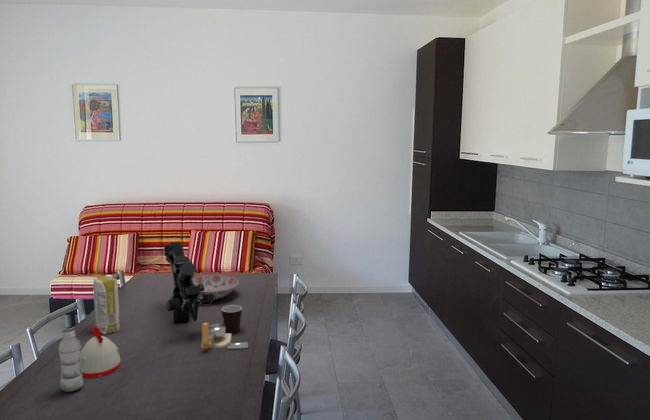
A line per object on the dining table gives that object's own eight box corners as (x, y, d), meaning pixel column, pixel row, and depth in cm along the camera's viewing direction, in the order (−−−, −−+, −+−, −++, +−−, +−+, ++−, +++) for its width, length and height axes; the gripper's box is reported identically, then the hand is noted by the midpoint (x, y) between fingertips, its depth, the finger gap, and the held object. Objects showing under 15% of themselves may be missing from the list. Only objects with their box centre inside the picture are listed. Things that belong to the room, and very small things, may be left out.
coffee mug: (237, 336, 195) (237, 313, 194) (218, 334, 197) (218, 311, 195) (247, 325, 206) (247, 303, 205) (229, 323, 208) (229, 302, 207)
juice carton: (122, 331, 198) (119, 276, 195) (102, 336, 193) (99, 280, 189) (112, 324, 205) (109, 271, 201) (93, 330, 199) (90, 275, 195)
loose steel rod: (227, 342, 183) (227, 344, 185) (226, 347, 181) (227, 350, 183) (247, 341, 184) (247, 343, 186) (247, 346, 183) (247, 349, 184)
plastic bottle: (66, 384, 155) (62, 326, 152) (87, 383, 156) (83, 326, 153) (56, 394, 149) (52, 335, 146) (79, 394, 149) (75, 334, 146)
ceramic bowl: (250, 294, 247) (250, 280, 246) (209, 311, 223) (209, 295, 221) (211, 285, 262) (211, 271, 261) (168, 299, 238) (168, 284, 237)
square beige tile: (201, 348, 183) (201, 341, 183) (204, 336, 194) (204, 329, 193) (230, 346, 185) (229, 339, 184) (231, 335, 196) (231, 328, 195)
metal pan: (213, 333, 193) (212, 310, 192) (228, 335, 192) (228, 312, 190) (195, 347, 180) (195, 323, 179) (212, 350, 178) (211, 325, 177)
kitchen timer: (112, 355, 176) (110, 317, 174) (127, 368, 166) (125, 328, 164) (72, 367, 166) (69, 327, 164) (85, 382, 157) (82, 339, 155)
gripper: (168, 280, 185) (177, 316, 178) (213, 274, 196) (223, 308, 188) (162, 293, 192) (170, 328, 185) (206, 287, 203) (215, 319, 196)
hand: (195, 320), depth 188 cm, fingers closed
